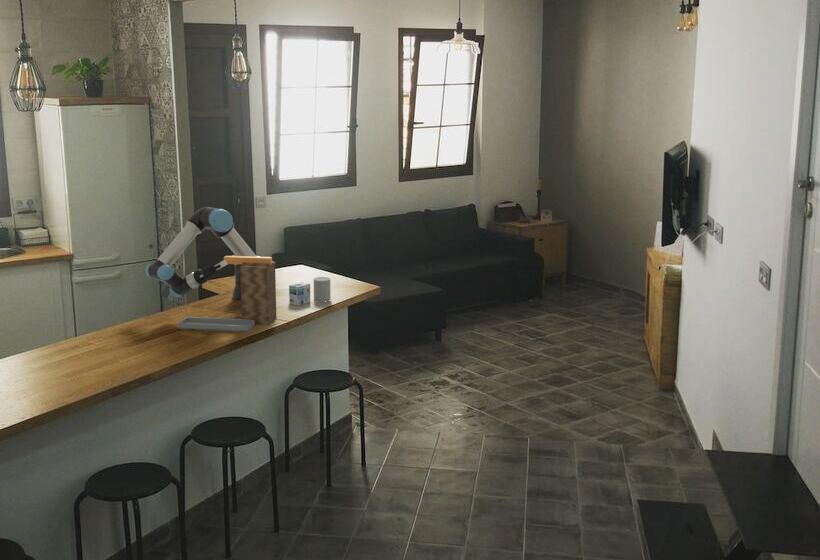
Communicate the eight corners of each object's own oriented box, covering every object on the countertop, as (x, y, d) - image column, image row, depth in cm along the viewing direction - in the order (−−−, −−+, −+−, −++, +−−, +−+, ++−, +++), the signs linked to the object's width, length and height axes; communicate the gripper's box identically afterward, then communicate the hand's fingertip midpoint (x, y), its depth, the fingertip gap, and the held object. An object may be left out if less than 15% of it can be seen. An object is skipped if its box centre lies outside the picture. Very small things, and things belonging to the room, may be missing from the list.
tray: (177, 328, 434) (177, 323, 433) (186, 322, 445) (186, 316, 445) (247, 332, 429) (247, 326, 428) (255, 325, 441) (254, 320, 440)
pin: (224, 263, 442) (223, 257, 442) (225, 262, 446) (225, 255, 445) (270, 265, 441) (270, 258, 440) (272, 263, 444) (271, 256, 443)
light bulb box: (297, 305, 481) (297, 286, 478) (288, 304, 484) (288, 285, 482) (311, 302, 489) (310, 283, 486) (302, 300, 493) (301, 281, 490)
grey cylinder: (311, 298, 496) (311, 277, 493) (328, 297, 499) (327, 276, 497) (316, 302, 487) (315, 281, 485) (332, 301, 491) (332, 280, 488)
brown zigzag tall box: (241, 324, 444) (239, 264, 437) (250, 316, 457) (248, 258, 450) (268, 325, 442) (266, 265, 435) (276, 318, 455) (274, 259, 448)
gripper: (209, 279, 461) (242, 260, 456) (191, 290, 437) (226, 270, 432) (202, 267, 460) (235, 248, 455) (183, 277, 436) (218, 257, 431)
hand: (230, 259), depth 444 cm, fingers open, 13 cm apart
